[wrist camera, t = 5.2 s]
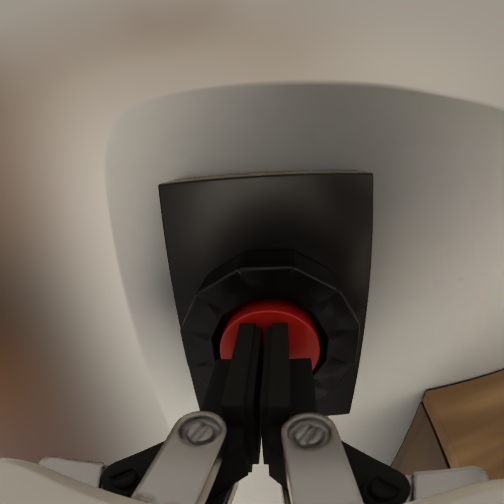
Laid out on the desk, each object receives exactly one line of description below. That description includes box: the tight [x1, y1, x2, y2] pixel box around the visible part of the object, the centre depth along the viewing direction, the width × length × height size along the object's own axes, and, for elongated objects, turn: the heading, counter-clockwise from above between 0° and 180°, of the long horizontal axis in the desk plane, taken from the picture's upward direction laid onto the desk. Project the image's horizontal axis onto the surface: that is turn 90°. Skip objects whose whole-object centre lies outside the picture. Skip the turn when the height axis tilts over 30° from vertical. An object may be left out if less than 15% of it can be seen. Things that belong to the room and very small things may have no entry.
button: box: [220, 300, 320, 369], centre depth 11 cm, size 4×4×2 cm
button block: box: [158, 170, 373, 416], centre depth 12 cm, size 12×8×4 cm, turn 4°
